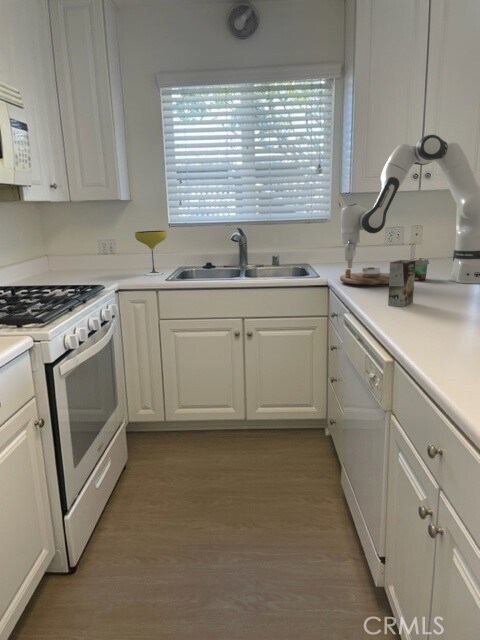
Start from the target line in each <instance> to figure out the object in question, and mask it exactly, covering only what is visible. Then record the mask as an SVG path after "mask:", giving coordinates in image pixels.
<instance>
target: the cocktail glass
mask: <svg viewBox="0 0 480 640" xmlns="http://www.w3.org/2000/svg"><path fill="white" fill-rule="evenodd" d="M134 237H135V239H136V241H138V242H140V243H142V244H144V245H146V246H147V247H148V248H149V249H150V250H151V260H152V271H151V272H149V273H159V271H156V270H155V264H154V263H155V261H154V252H153V251H154V249H155V247H156V246H157V245H159V244H160V243H162V242H163V241H165V239H167V231H166V230H146V231H136V232H134Z"/></svg>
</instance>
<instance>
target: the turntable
mask: <svg viewBox="0 0 480 640" xmlns="http://www.w3.org/2000/svg"><path fill="white" fill-rule="evenodd" d="M351 270H352V268H346V269H345V273H344V274H342V275H340V277H339V281H341V282H343V283H347V284H351V285H352V284H354V285H359V284H365V285H364V286H379V285H378V284H383V285H389V275H390V272H389V273H388V272H380V277H379V278H363V277H362V272H352V271H351ZM351 272H352V273H351Z"/></svg>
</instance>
